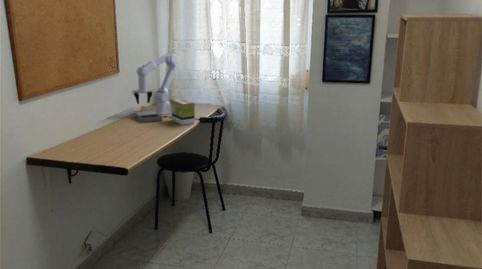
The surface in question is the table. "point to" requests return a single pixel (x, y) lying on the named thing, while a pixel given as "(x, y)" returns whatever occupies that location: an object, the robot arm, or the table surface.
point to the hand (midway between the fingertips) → (143, 103)
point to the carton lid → (145, 112)
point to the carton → (149, 118)
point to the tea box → (183, 111)
